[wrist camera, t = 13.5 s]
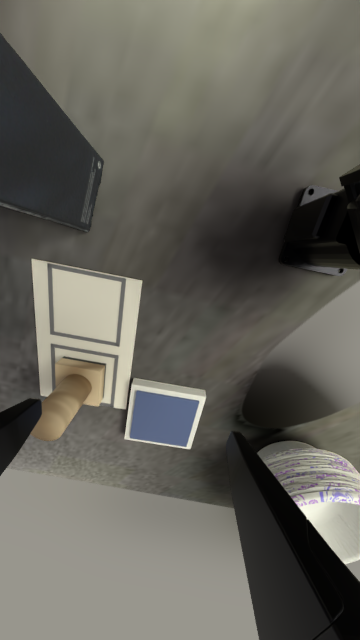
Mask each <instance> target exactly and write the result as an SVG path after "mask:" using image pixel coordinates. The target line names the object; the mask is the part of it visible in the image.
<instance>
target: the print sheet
mask: <svg viewBox="0 0 360 640" xmlns="http://www.w3.org/2000/svg"><path fill="white" fill-rule="evenodd" d="M31 260H32V275H33V290H34V304H35V319H36V334H37V349H38V364H39V379H40V394H41V396H46V397H48V396H49V395H50V394H51V393H52V392H53V391H54V389H55V388H56V380H55V363H56V362H58V361H59V360H60V359H61V358H62V357H64V356H66V357H71V358H77V359H83V360H88V361H94V362H100V363H105V364H106V375H105V389H104V398H103V399H102V401H101V403H100V405H101V406H107V407H114V408H120V409H126V406H127V398H128V391H129V383H130V375H131V367H132V359H133V351H134V343H135V336H136V328H137V320H138V312H139V304H140V296H141V288H142V280H137V279H132V278H127V277H122V276H117V275H112V274H107V273H102V272H97V271H92V270H87V269H82V268H77V267H72V266H67V265H62V264H57V263H52V262H47V261H42V260H37V259H31Z"/></svg>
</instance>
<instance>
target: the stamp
mask: <svg viewBox="0 0 360 640" xmlns="http://www.w3.org/2000/svg"><path fill="white" fill-rule="evenodd" d="M105 375H106V364H105V363H100V362H94V361H88V360H83V359H77V358H71V357H66V356H64V357H62V358H61V359H60V360H59V361H58V362H56V363H55V380H56V388H55V389H54V391H53V392H52V393H51V394H50V395H49V396H48V397H47V398H46V399H45V400H44V401H43V402H42V415H41V418H40V419H39V421H38V422H37V424H36V426H35V427H34V429H33V430H32V432H31V433H30V434H31V435H32V436H34V437H36V438H38V439H40V440H44V441H53V440H56V439H58V438H59V437H60V436H61V435H62V434H63V432H64V431H65V429H66V428H67V426H68V425H69V423H70V422H71V420H72V419H73V417H74V416H75V414H76V413H77V411H78V410H79V409H80V407H81V406H82V404H86V405H92V406H99V405H100V403H101V401H102V399H103V398H104V389H105Z"/></svg>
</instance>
